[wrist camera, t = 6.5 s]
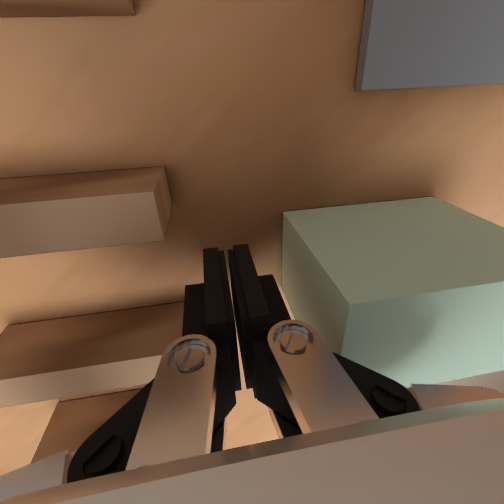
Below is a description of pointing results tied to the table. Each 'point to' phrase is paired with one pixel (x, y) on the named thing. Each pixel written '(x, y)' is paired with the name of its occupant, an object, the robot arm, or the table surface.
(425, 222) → the block
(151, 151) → the table surface
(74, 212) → the rack
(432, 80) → the pad
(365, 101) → the table surface
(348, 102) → the table surface
